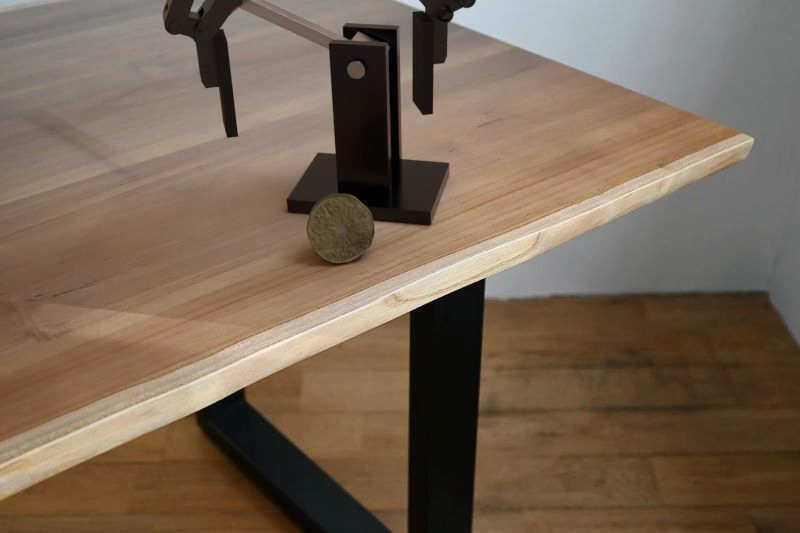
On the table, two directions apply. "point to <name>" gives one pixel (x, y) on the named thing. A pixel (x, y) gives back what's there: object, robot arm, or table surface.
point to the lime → (340, 228)
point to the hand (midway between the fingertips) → (328, 118)
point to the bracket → (370, 136)
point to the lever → (295, 23)
